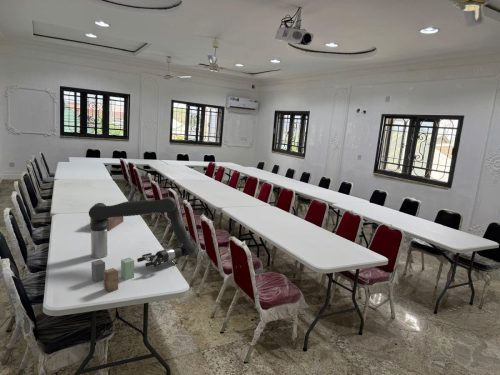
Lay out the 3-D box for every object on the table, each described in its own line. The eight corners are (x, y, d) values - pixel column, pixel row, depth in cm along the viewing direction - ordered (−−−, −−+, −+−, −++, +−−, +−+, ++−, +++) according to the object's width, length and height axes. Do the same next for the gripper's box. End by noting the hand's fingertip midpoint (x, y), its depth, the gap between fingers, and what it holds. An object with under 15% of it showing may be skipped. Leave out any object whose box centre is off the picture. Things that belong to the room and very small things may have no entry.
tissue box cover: (109, 231, 260) (108, 218, 259) (90, 229, 261) (90, 217, 259) (123, 221, 286) (123, 210, 284) (106, 220, 286) (106, 208, 285)
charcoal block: (91, 279, 184) (91, 261, 182) (100, 276, 187) (100, 259, 185) (96, 282, 180) (95, 264, 178) (105, 279, 184) (105, 262, 182)
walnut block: (104, 288, 175) (103, 270, 173) (113, 285, 178) (113, 267, 176) (108, 292, 171) (108, 273, 169) (118, 289, 175) (118, 271, 173)
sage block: (121, 276, 189) (121, 259, 187) (129, 274, 192) (129, 257, 191) (125, 279, 185) (125, 262, 184) (134, 277, 189) (134, 260, 187)
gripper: (158, 246, 210) (134, 252, 198) (172, 253, 201) (148, 260, 189) (158, 258, 212) (134, 264, 199) (172, 265, 202) (148, 273, 190)
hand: (141, 262), depth 194 cm, fingers open, 8 cm apart
